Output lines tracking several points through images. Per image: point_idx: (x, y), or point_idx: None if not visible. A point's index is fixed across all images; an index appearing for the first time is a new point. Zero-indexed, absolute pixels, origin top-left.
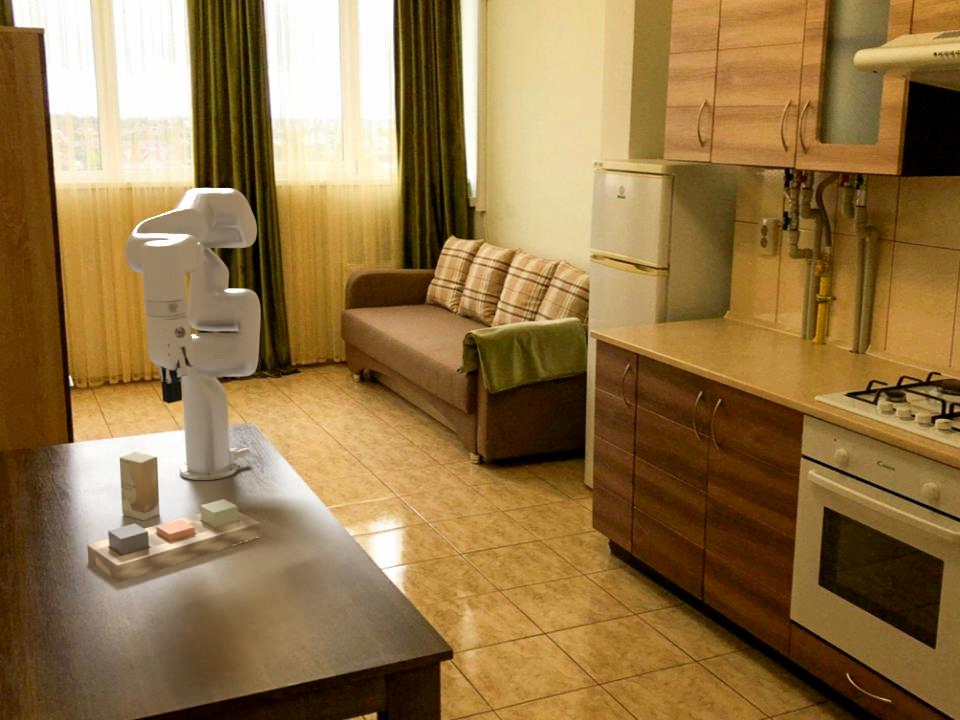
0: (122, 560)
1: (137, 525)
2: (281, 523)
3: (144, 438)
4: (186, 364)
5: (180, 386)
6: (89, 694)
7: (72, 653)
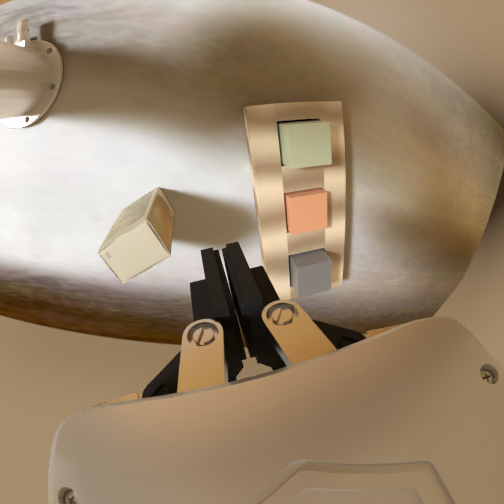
0: (335, 279)
1: (306, 266)
2: (302, 53)
3: None
4: (343, 348)
5: (254, 280)
6: (433, 306)
7: (399, 312)
